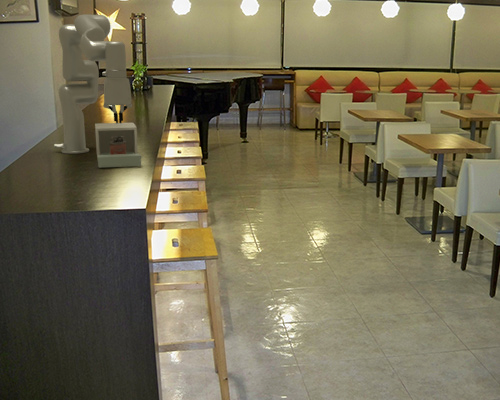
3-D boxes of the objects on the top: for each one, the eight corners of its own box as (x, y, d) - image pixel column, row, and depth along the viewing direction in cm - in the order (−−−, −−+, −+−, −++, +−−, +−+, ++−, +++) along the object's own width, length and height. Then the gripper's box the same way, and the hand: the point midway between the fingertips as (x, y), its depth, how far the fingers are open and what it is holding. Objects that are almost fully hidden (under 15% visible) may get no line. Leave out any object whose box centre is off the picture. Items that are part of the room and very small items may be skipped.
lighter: (123, 157, 256) (122, 134, 254) (128, 158, 254) (127, 135, 252) (108, 160, 250) (107, 136, 248) (113, 161, 248) (112, 137, 246)
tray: (141, 165, 244) (140, 155, 243) (98, 167, 240) (98, 157, 239) (137, 157, 263) (136, 148, 262) (97, 159, 259) (96, 149, 258)
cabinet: (138, 160, 260) (136, 127, 256) (97, 162, 255) (95, 128, 252) (134, 153, 277) (133, 122, 273) (96, 155, 272) (95, 123, 269)
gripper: (96, 75, 223) (98, 124, 227) (137, 75, 227) (139, 123, 231) (95, 74, 230) (98, 122, 234) (135, 74, 234) (137, 121, 238)
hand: (118, 122), depth 233 cm, fingers closed
